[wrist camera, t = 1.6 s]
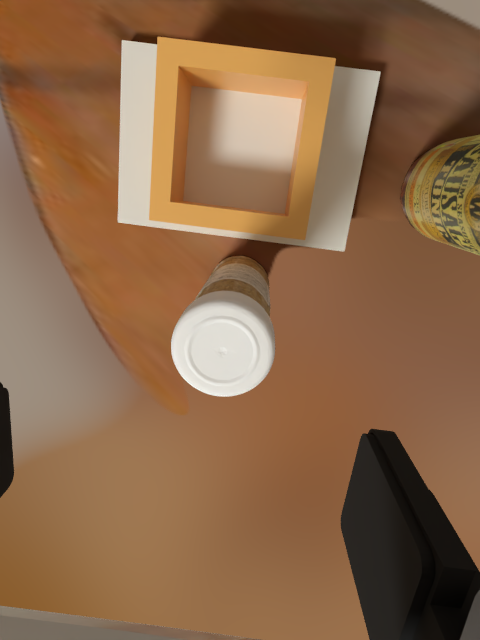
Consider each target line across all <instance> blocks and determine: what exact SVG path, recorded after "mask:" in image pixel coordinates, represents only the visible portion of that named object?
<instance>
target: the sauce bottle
mask: <svg viewBox="0 0 480 640" xmlns="http://www.w3.org/2000/svg"><path fill="white" fill-rule="evenodd" d="M401 191H402V193H401V196H400V200H401V204H402V208H403V210H404V214H405V216H406V218H407V219H408V221H409V223H410V225H411V226H412V227H413V228H415V229H416V230H418V231H419V232H420V233H421V234H423V235H424V236H426V237H428V238H430V239H433V240H436V241H439V242H442V243H445V244H448V245H451V246H454V247H457V248H460V249H463V250H466V251H469V252H472V253H475V254H477V255H480V135H475V136H470V137H465V138H460V139H455V140H451V141H448V142H445V143H443V144H440V145H438V146H436V147H434V148H432V149H431V150H429V151H427V152H426V153H424V154H423V155H422V156H421V157H420V158H419V159H417V160H416V161H415V162H414V163H413V164H412V166H411V168H410V169H409V171H408V173H407V175H406V177H405V179H404V183H403V185H402V188H401Z"/></svg>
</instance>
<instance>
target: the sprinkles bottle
mask: <svg viewBox="0 0 480 640" xmlns="http://www.w3.org/2000/svg"><path fill="white" fill-rule="evenodd" d="M171 351H172V357H173V361H174V363H175V366H176V368H177V370H178V371H179V373H180V374H181V376H182V377H183V378H184V379H185V380H186V381H187V382H188V383H189V384H190V385H192V386H193V387H194V388H196V389H198V390H200V391H202V392H204V393H207V394H210V395H214V396H225V397H226V396H235V395H239V394H242V393H245V392H247V391H249V390H251V389H252V388H254V387H255V386H257V385H258V384H259V383H260V382H261V381H262V380H263V379H264V378H265V377H266V375H267V374H268V372H269V370H270V368H271V366H272V363H273V360H274V355H275V336H274V329H273V325H272V322H271V319H270V296H269V280H268V276H267V274H266V272H265V270H264V268H263V267H262V266H261V265H260V264H259V263H258V262H256V261H255V260H253V259H251V258H249V257H245V256H233V257H229V258H227V259H225V260H223V261H221V262H220V263H219V264H218V265H217V266H216V267H215V269H214V270H213V272H212V274H211V276H210V277H209V279H208V280H207V282H206V283H205V285H204V286H203V288H202V290H201V291H200V293H199V294H198V296H197V297H196V299H195V300H194V301H193V302H192V303H191V304H190V305H189V306H188V307H187V308H186V310H185V311H184V312H183V314H182V315H181V317H180V319H179V321H178V322H177V324H176V326H175V329H174V332H173V335H172V340H171Z"/></svg>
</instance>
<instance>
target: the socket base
mask: <svg viewBox="0 0 480 640" xmlns="http://www.w3.org/2000/svg"><path fill="white" fill-rule="evenodd" d="M335 62H336V58H330V57H322V56H313V55H305V54H297V53H289V52H280V51H272V50H264V49H256V48H247V47H239V46H231V45H223V44H214V43H206V42H198V41H190V40H181V39H173V38H165V37H158V38H157V44H150V43H141V42H133V41H125V40H122V60H121V104H120V148H119V192H118V222H119V223H127V224H134V225H142V226H150V227H158V228H165V229H173V230H181V231H189V232H196V233H204V234H212V235H220V236H227V237H235V238H243V239H251V240H259V241H266V242H274V243H282V244H290V245H297V246H305V247H313V248H321V249H328V250H337V251H345V246H346V241H347V236H348V231H349V226H350V221H351V216H352V211H353V206H354V201H355V196H356V192H357V187H358V182H359V177H360V172H361V167H362V162H363V157H364V152H365V147H366V142H367V137H368V132H369V127H370V122H371V118H372V113H373V108H374V103H375V98H376V93H377V88H378V83H379V78H380V73H381V72H380V71H372V70H364V69H355V68H347V67H339V66H335Z"/></svg>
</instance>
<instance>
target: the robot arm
mask: <svg viewBox="0 0 480 640" xmlns="http://www.w3.org/2000/svg"><path fill="white" fill-rule="evenodd" d="M13 476H14V467H13V451H12V436H11V422H10V407H9V393H8V390H7V389H6V388H3V385H2V384H1V383H0V497H1V496H2V495H3V494H4V493H5V491H6V490H7V489H8V488H9V486H10V484H11V482H12V480H13ZM341 529H342V533H343V537H344V542H345V545H346V549H347V553H348V557H349V560H350V565H351V569H352V573H353V576H354V580H355V584H356V588H357V592H358V595H359V600H360V604H361V608H362V612H363V615H364V619H365V623H366V627H367V631H368V635H369V639H370V640H480V572H479V570H478V568H477V567H476V565H475V563H474V562H473V560H472V558H471V557H470V555H469V553H468V552H467V550H466V548H465V547H464V545H463V543H462V542H461V540H460V538H459V537H458V535H457V533H456V531H455V530H454V528H453V526H452V525H451V523H450V521H449V520H448V518H447V517H446V515H445V513H444V511H443V510H442V508H441V506H440V505H439V503H438V501H437V500H436V498H435V496H434V495H433V493H432V492H431V491H430V490H428V488H427V486H426V484H425V483H424V481H423V479H422V478H421V476H420V474H419V473H418V471H417V469H416V467H415V466H414V464H413V462H412V461H411V459H410V457H409V456H408V454H407V452H406V451H405V449H404V447H403V446H402V444H401V442H400V440H399V439H398V437H397V435H396V434H395V433H394V432H392V431H384V430H377V429H371V430H370V431H369V433H368V434H362V436H361V439H360V442H359V447H358V451H357V454H356V459H355V462H354V466H353V471H352V475H351V479H350V482H349V487H348V490H347V494H346V499H345V502H344V507H343V510H342V515H341ZM0 640H259V639H251V638H244V637H237V636H229V635H222V634H214V633H206V632H200V631H191V630H184V629H177V628H169V627H162V626H154V625H146V624H138V623H129V622H123V621H115V620H107V619H100V618H92V617H84V616H76V615H68V614H60V613H52V612H44V611H36V610H28V609H21V608H13V607H4V606H0Z"/></svg>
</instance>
